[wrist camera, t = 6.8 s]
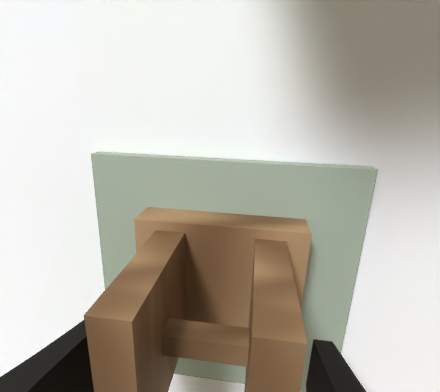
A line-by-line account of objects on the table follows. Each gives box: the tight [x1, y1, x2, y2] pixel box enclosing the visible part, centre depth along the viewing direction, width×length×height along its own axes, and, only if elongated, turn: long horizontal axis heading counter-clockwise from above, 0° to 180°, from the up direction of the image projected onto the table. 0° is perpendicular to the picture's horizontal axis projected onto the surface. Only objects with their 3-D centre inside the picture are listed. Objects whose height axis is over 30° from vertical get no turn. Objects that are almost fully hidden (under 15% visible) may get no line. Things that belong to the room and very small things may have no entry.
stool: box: [84, 207, 312, 392], centre depth 10 cm, size 7×6×6 cm
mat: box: [91, 152, 378, 392], centre depth 14 cm, size 12×12×1 cm
